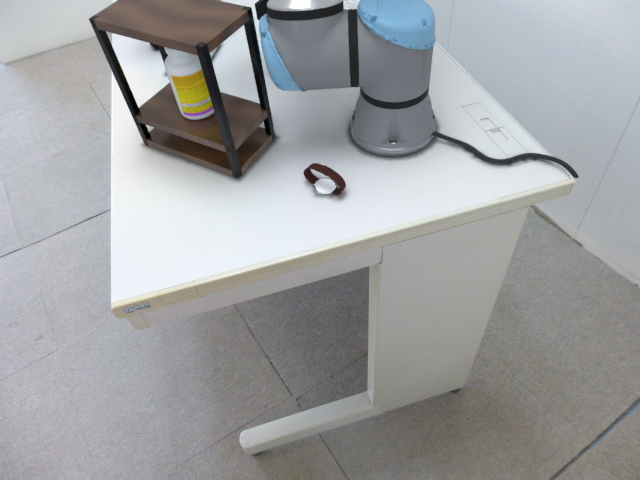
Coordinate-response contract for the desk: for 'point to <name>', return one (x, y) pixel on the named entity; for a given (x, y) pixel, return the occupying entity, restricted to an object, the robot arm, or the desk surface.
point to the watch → (325, 184)
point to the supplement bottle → (188, 84)
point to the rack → (200, 39)
